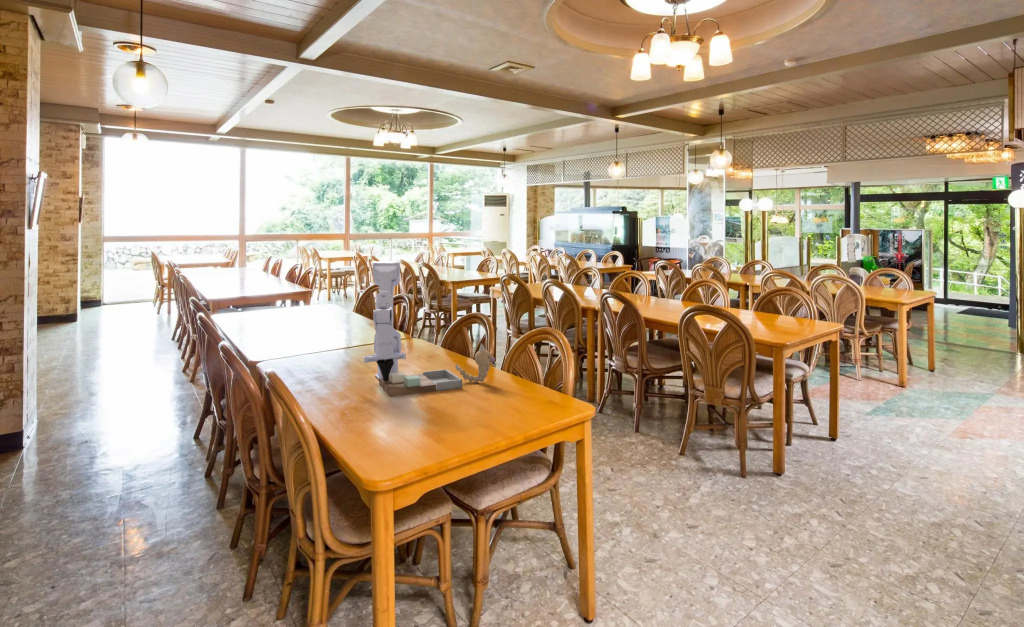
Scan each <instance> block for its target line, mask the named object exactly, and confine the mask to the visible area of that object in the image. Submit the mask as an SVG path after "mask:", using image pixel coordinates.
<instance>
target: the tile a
mask: <svg viewBox="0 0 1024 627" xmlns="http://www.w3.org/2000/svg"><path fill="white" fill-rule="evenodd" d="M404 376H405V373H404V372H403V371H398V372H394V373H390V374H389V380H390V381H391V382H392V383H399V382H404Z"/></svg>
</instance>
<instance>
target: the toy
mask: <svg viewBox="0 0 1024 627" xmlns="http://www.w3.org/2000/svg"><path fill="white" fill-rule="evenodd" d="M495 360H496V357H494V356H493V354H491V352H490V351H488V350H486V348H485V346H484V344H483V343H482V342H481V343H480V347H479V350H478V351H477V352H476V353H475V355H474V362H475V363H476V365H477V366H478V368H477V369H478V372H477V374H478V375H475V376H474V375H472V374H469V373H468V372H466V370H465V369H462V368H461V367H460V366H459V365H458V364H457V363H455V369H456V371H458V372H459V373H460V375H461V376H462V378H463V379H464V380H465V381H466V380H468V381H469V383H472V381H473V382H474V383H475V384H477V383H479V382H480V383H483V382H484V381H485V378H486V377H487V376H488V375H489V374H488V372H489V371H490V368H491V367H490V364H491V363H494V362H495Z"/></svg>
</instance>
